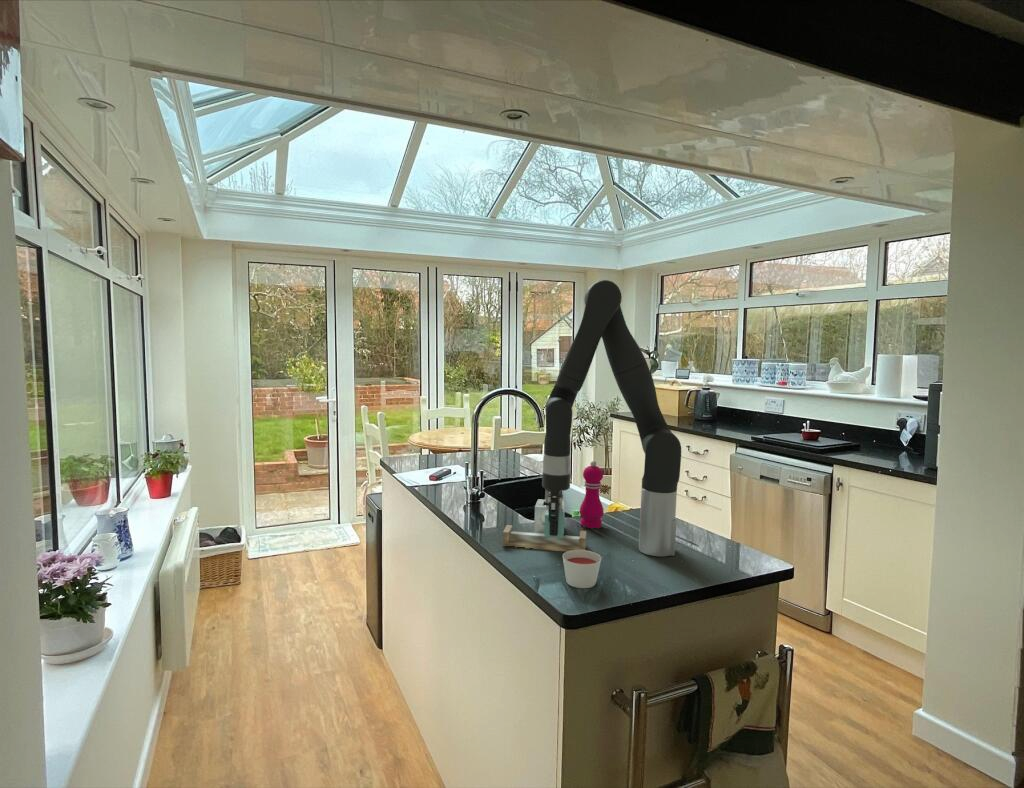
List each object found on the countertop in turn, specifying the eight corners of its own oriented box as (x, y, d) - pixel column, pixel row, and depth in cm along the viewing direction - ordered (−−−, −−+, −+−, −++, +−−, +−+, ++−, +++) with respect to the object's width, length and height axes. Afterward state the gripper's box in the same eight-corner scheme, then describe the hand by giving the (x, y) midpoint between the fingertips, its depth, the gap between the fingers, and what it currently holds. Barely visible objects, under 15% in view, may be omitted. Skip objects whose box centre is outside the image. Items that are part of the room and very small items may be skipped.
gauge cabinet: (563, 526, 181) (564, 500, 180) (561, 536, 173) (562, 509, 172) (537, 524, 182) (538, 499, 181) (533, 534, 174) (534, 507, 173)
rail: (585, 545, 166) (586, 531, 166) (584, 553, 160) (585, 538, 160) (506, 538, 170) (506, 524, 169) (502, 546, 164) (502, 532, 163)
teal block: (563, 533, 166) (564, 511, 165) (562, 538, 162) (563, 516, 161) (545, 531, 167) (546, 510, 166) (544, 536, 163) (544, 514, 162)
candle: (608, 583, 142) (609, 557, 141) (583, 594, 135) (584, 567, 135) (578, 571, 148) (579, 546, 147) (553, 582, 142) (554, 556, 141)
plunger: (557, 512, 179) (558, 481, 178) (556, 516, 175) (557, 485, 174) (543, 510, 180) (544, 480, 179) (541, 515, 175) (542, 484, 174)
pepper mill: (602, 530, 178) (605, 464, 176) (577, 528, 180) (580, 462, 178) (603, 523, 186) (606, 459, 183) (580, 521, 187) (582, 457, 185)
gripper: (568, 478, 155) (566, 542, 157) (572, 465, 169) (569, 525, 171) (539, 476, 156) (537, 540, 158) (545, 464, 170) (543, 523, 172)
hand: (554, 532), depth 164 cm, fingers closed on teal block, 4 cm apart
